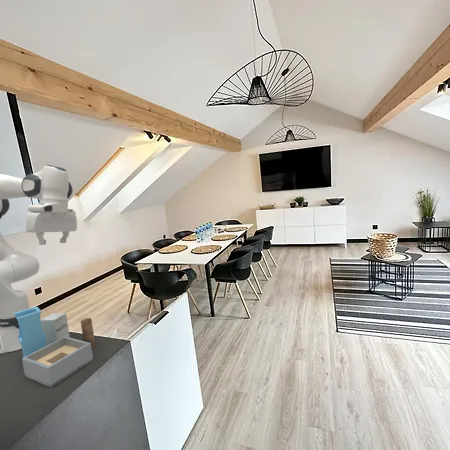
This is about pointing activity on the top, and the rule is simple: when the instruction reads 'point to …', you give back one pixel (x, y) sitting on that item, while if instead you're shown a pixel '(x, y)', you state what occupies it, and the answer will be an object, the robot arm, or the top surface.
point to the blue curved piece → (30, 331)
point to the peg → (88, 331)
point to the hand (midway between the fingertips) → (53, 243)
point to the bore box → (57, 361)
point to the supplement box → (55, 327)
